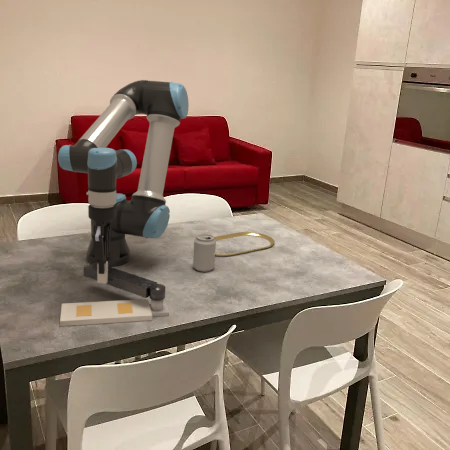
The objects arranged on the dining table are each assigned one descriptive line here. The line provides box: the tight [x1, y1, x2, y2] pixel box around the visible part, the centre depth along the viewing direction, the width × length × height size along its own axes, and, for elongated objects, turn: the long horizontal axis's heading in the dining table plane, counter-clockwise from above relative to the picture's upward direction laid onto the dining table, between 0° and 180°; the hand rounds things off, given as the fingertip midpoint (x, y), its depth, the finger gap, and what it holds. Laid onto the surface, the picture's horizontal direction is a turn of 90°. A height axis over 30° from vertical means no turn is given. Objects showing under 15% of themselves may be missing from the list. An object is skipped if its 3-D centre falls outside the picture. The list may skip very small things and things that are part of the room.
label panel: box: [59, 298, 170, 327], centre depth 137 cm, size 10×29×4 cm, turn 105°
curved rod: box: [214, 231, 275, 257], centre depth 197 cm, size 19×35×2 cm, turn 126°
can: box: [192, 233, 217, 273], centre depth 171 cm, size 8×8×12 cm
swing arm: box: [83, 263, 166, 300], centre depth 144 cm, size 28×5×3 cm, turn 60°
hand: (102, 282), depth 144 cm, fingers closed
